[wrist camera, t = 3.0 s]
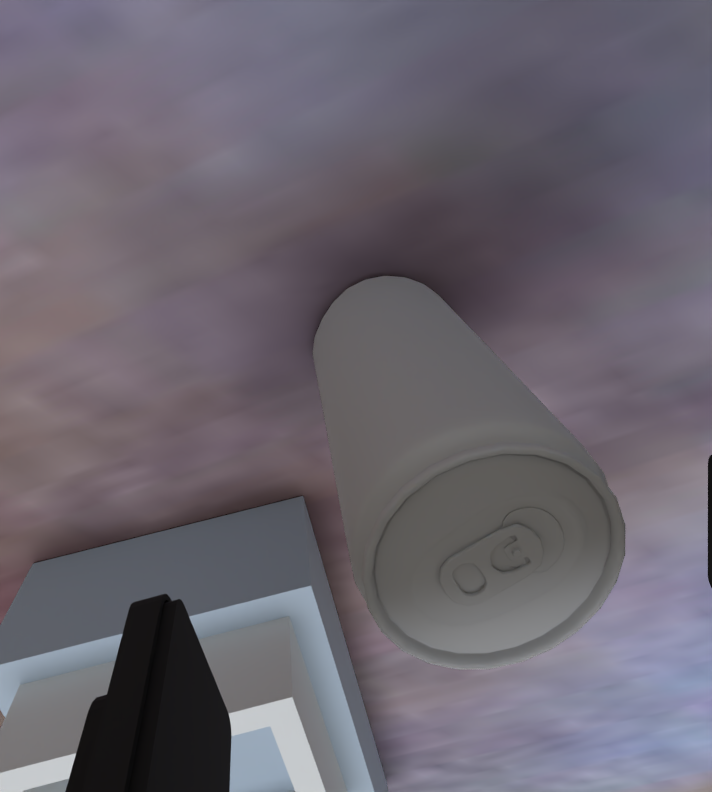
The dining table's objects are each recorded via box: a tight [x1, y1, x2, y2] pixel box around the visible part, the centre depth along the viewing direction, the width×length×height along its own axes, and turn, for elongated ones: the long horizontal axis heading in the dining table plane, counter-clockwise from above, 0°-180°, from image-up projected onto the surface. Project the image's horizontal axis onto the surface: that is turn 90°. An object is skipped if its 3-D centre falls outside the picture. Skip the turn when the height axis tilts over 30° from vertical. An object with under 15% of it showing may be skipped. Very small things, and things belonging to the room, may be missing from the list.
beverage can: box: [313, 276, 625, 670], centre depth 16 cm, size 5×5×12 cm
